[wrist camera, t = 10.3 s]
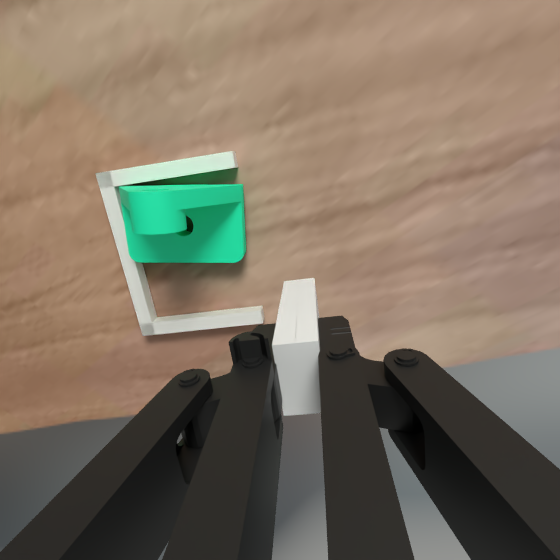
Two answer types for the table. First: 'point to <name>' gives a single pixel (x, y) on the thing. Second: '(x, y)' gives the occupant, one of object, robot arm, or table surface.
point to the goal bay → (135, 270)
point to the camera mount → (184, 223)
